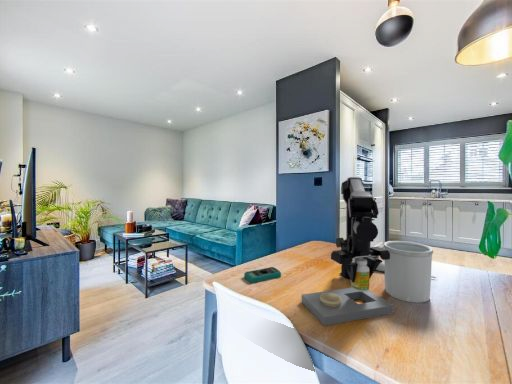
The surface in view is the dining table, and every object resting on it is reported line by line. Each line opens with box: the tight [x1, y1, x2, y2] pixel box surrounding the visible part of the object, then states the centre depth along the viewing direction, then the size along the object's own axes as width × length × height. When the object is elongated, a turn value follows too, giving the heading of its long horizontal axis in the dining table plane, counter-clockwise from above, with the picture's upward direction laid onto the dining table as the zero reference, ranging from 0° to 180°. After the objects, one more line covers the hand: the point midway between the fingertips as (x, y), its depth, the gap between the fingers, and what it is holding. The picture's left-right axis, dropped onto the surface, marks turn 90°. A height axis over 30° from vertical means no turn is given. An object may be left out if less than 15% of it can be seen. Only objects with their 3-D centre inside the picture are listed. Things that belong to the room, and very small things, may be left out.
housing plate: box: [301, 286, 394, 327], centre depth 77 cm, size 24×14×4 cm, turn 106°
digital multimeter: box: [243, 266, 282, 284], centre depth 102 cm, size 7×15×3 cm, turn 118°
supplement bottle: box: [350, 258, 370, 292], centre depth 78 cm, size 5×5×10 cm
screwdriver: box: [375, 261, 437, 279], centre depth 105 cm, size 5×25×4 cm, turn 58°
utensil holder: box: [383, 240, 434, 304], centre depth 86 cm, size 15×15×18 cm
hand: (360, 280), depth 78 cm, fingers closed on supplement bottle, 5 cm apart
